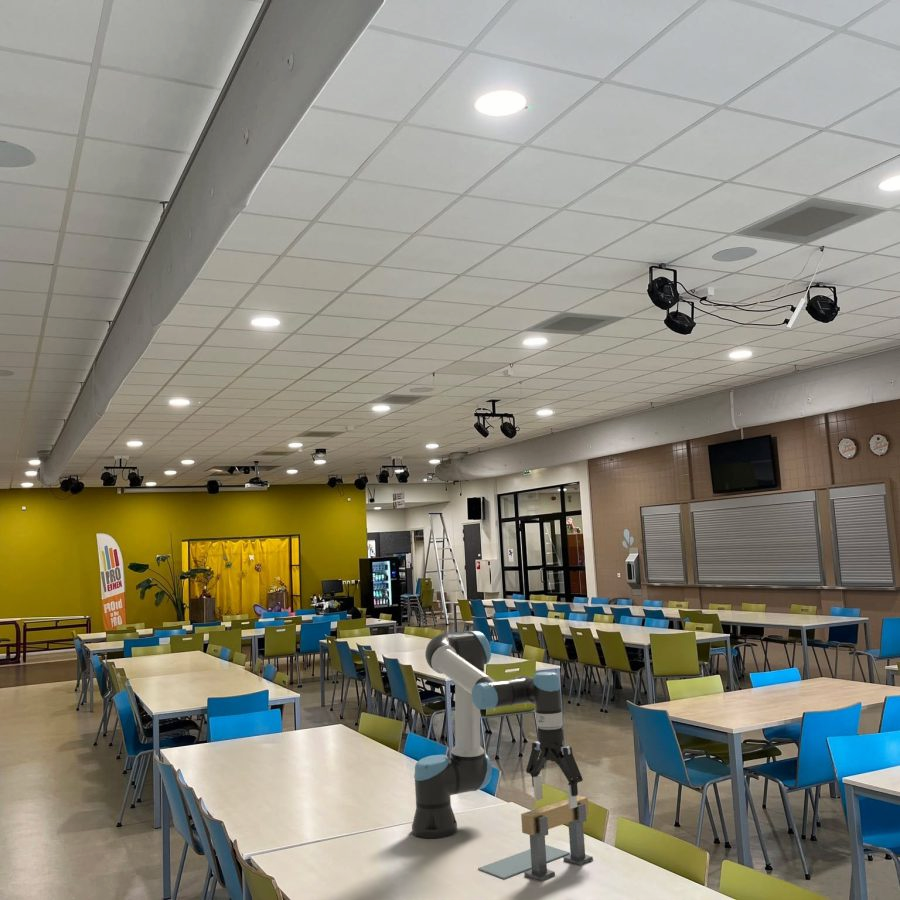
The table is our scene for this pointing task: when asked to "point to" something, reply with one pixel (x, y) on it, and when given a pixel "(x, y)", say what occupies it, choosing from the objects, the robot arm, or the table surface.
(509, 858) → the mat
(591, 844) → the table surface
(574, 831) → the rack
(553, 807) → the rail
